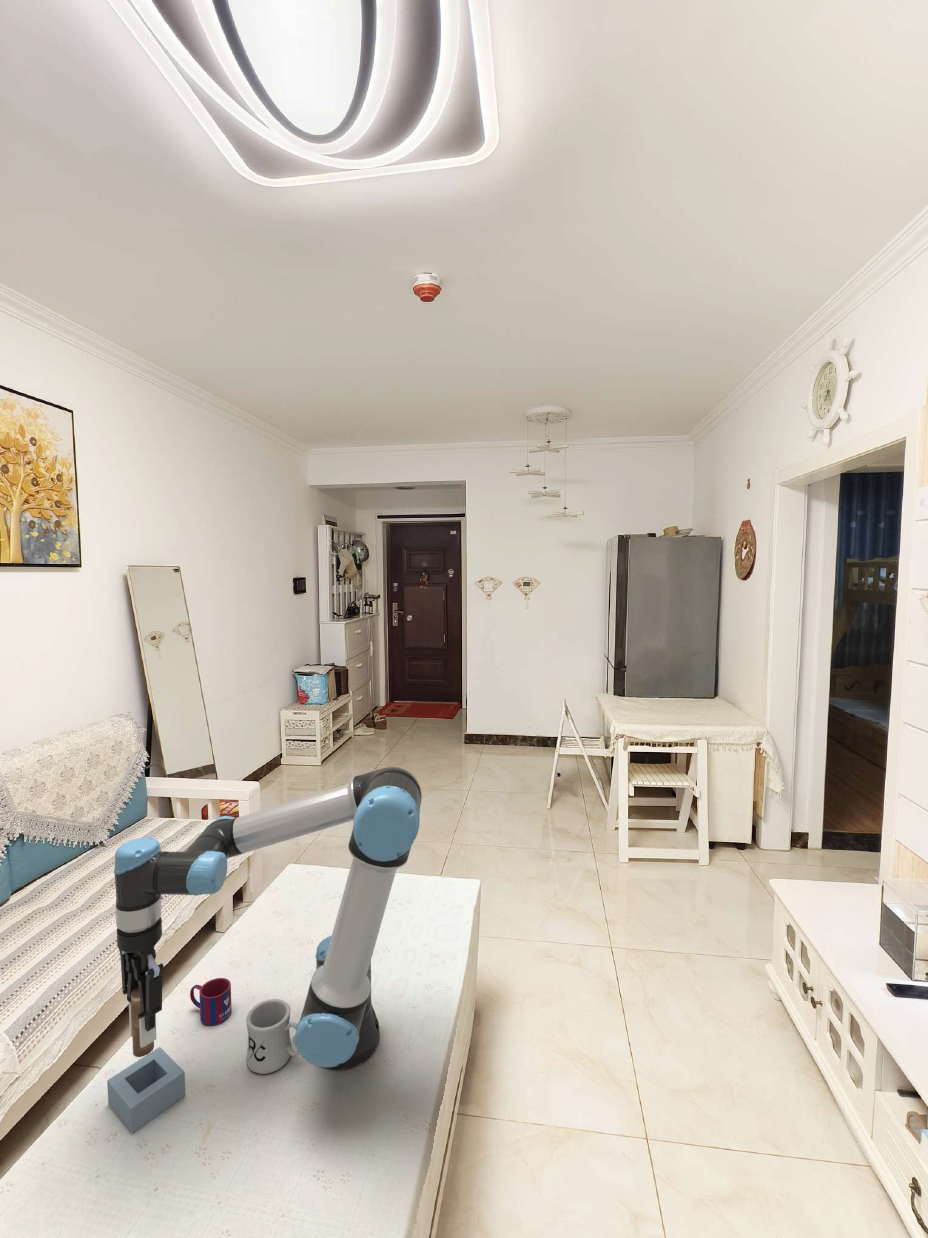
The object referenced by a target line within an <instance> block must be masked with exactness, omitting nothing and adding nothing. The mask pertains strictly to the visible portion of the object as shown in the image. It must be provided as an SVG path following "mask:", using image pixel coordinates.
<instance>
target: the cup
mask: <svg viewBox="0 0 928 1238" xmlns="http://www.w3.org/2000/svg"><path fill="white" fill-rule="evenodd" d="M195 989H196V990H198V991H199V1001H197V998H196V996H195ZM189 991H190V992H189V998H190V1000H191V1003H192V1004H193V1005H194V1006H195V1007H197V1008H198V1009H199V1016H200V1017H199V1019H200V1022H201V1024H202V1025H204V1026H206V1027H213V1026H214V1025H215V1026H218V1025H221V1024H223V1023H224V1022H225V1021H227V1020H228V1019H229V1018H230V1016H231V1015H232V985H231V981H230V979H228V978H225V977H216V978H212V979H211V980H208V981H207V982H205V983H204V984H203V985H200V984H195V985H193V986H192V987H191V988H190V990H189Z"/></svg>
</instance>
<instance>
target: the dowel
mask: <svg viewBox="0 0 928 1238" xmlns="http://www.w3.org/2000/svg"><path fill="white" fill-rule="evenodd" d="M131 1007H132V1037H131V1038H132V1055H133V1056H134V1057H136V1058H143V1057H145V1056H146V1055H148V1054H149V1053H151V1052H152V1051H154V1049H155V1040H154V1041H153V1042H151V1043H150V1044H148V1045H146V1046H145V1047H143V1048H141V1047H140V1029H139V1018H138V1014H140V1013H142V1012H141V1003H140V994H139V986H138V987H136V988H135V989H134V990H133V991H132V992H131Z"/></svg>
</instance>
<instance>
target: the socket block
mask: <svg viewBox="0 0 928 1238" xmlns="http://www.w3.org/2000/svg"><path fill="white" fill-rule="evenodd" d="M185 1077H186V1075H185V1070H184V1069H182V1068H181V1066H179V1064H177V1062H176V1061H175V1060H174V1059H172V1058H171V1057H170V1055H169V1054H167V1052H166V1051H165V1050H164V1049H163V1048H162V1047H161V1046H158V1048H155V1049H153V1050H152V1051H151V1052H150V1053H149V1054H147V1055H145V1056H143V1057H140V1058H139V1059H138V1060H136V1061H135V1062H134V1063H132V1064H131V1065H129V1066H127V1067H126V1068H124V1069H123V1070H120V1071H119V1072H118V1073H116V1074H115V1075H113V1076H111V1077H110V1078H108V1079H107V1080H106V1081H107V1082H106V1083H107V1086H106V1087H107V1102H108V1103H107V1105H108V1106H109V1107H110V1108H111V1110H112V1111H113V1112H114V1113H115V1115H116V1116H117V1117H118V1118H119V1120H120V1121H121V1123H122V1124H123V1125H124V1126H125V1128H126V1129H127V1130H128V1131H129V1133H131V1135H133V1134H135V1133H136V1132H138V1131H139V1130H140V1129H141V1128H142V1127H144V1126H145V1125H147V1124H149V1122H151V1121H152V1120H154V1119H155V1118H157V1117H158V1116H159V1115H160V1114H162V1113H163V1112H164V1111H166V1110H167V1109H169V1108H170V1107H171V1106H174V1104H175V1103H177V1102H178V1101H180V1100H182V1099H183V1098H184V1097H185V1096H186V1079H185Z"/></svg>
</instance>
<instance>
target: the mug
mask: <svg viewBox="0 0 928 1238" xmlns="http://www.w3.org/2000/svg"><path fill="white" fill-rule="evenodd" d="M290 1018H291V1007H290V1004H289V1003H288V1002H287V1001H285V1000H283V999H279V998H271V999H266V1000H262V1001H261V1002H258V1003H257V1004H255V1005H254V1006H252V1008H251V1009H250V1010H249V1011H248V1013H247V1015H246V1018H245V1023H246V1029H247V1049H246V1051H247V1052H246V1064H247V1067H248V1069H249V1070H250V1071H252V1072H254V1073H257V1074H259V1075H260V1074H261V1075H266V1074H270V1073H275V1072H276V1071H278V1070H280V1069H281V1068H283V1066H284V1065H286V1063H287V1062H288V1061H289V1059H290V1058H291V1057H293V1058H294V1057H298V1056H300V1055H301V1054H300V1053H299V1052H298V1050H297V1049H296V1051H295V1050H293V1048H292V1043H293V1045H294V1046H295V1047H296V1044H295V1035H293V1037H292V1041H291V1034H290V1033H291V1030H290V1029H291V1028H293V1029H294V1030H296V1027H297V1024H298V1022H294V1021H291V1022H290Z"/></svg>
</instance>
